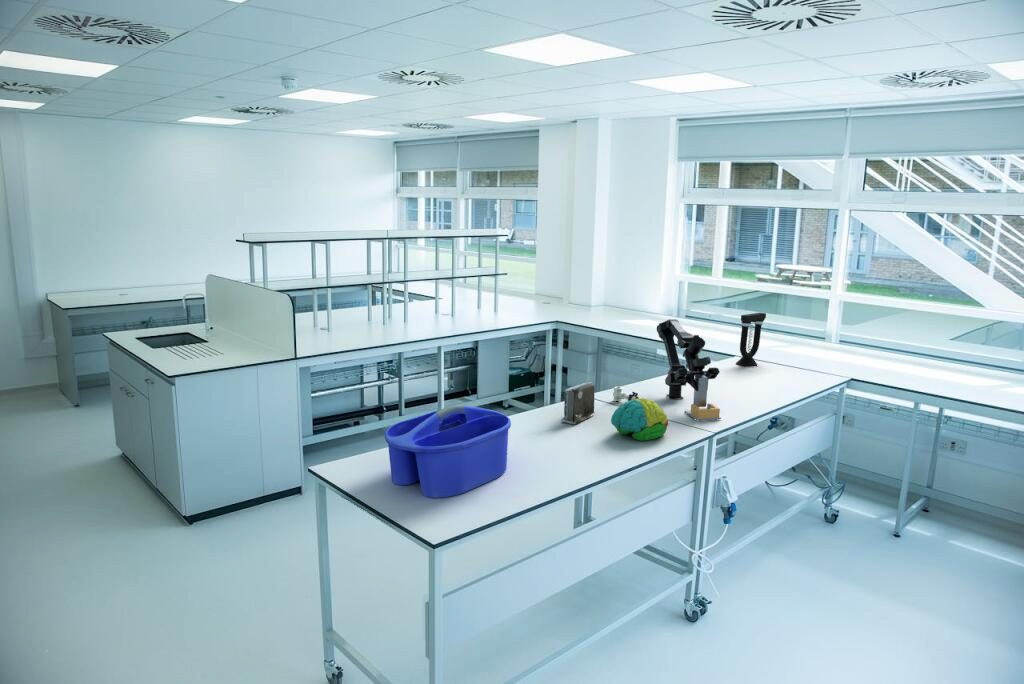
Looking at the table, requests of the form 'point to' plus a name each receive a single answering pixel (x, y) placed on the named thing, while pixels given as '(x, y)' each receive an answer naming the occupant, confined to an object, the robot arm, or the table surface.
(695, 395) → the rectangular block
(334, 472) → the table surface
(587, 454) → the table surface
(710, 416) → the keeper bracket
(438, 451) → the caddy
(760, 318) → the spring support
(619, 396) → the valve
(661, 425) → the brain model
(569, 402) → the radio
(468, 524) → the table surface
